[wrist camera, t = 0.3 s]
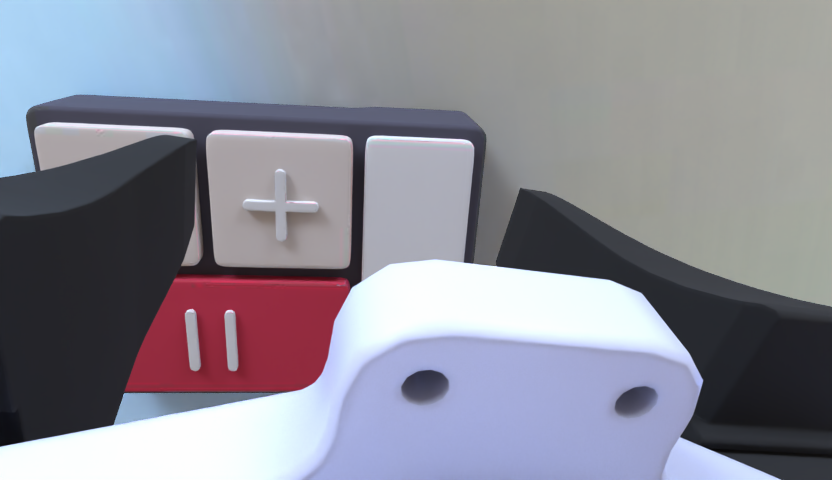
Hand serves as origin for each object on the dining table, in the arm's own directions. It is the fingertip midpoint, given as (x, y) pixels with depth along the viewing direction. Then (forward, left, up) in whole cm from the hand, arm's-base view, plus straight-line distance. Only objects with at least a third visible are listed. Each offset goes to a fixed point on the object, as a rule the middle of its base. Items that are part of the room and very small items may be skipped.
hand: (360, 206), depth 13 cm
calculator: (-6, -1, -11) cm, 12 cm away
